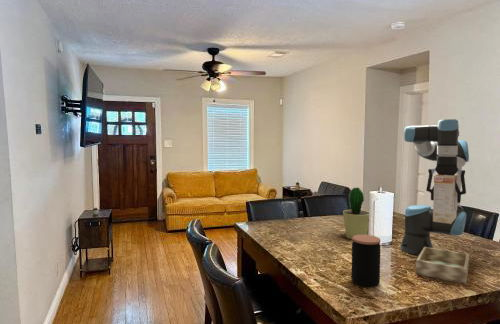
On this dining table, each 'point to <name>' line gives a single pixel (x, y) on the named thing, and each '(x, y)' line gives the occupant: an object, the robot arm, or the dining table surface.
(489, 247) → the dining table surface
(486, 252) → the dining table surface
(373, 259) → the coffee jar
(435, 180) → the coffeecake box
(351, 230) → the potted cactus
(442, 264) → the crate
